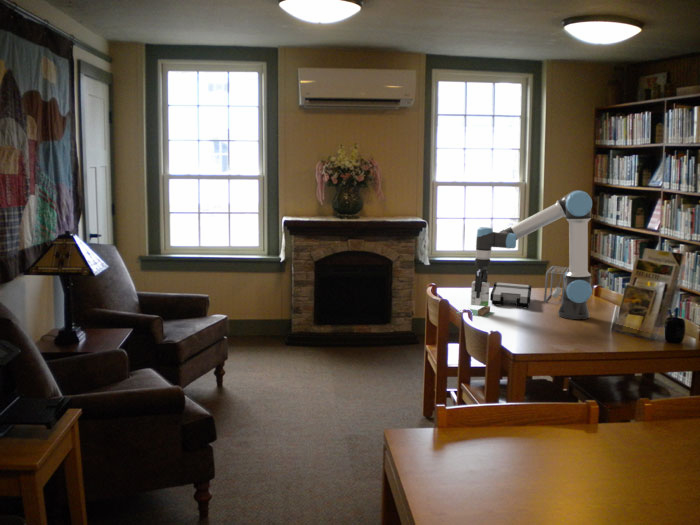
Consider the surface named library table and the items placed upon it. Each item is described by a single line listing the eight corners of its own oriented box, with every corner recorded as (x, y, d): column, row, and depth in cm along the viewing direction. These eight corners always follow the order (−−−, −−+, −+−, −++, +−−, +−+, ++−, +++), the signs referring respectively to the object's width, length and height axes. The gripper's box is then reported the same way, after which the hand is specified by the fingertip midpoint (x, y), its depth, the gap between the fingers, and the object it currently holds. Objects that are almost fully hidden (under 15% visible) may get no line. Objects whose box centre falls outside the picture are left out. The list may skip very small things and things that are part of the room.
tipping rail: (489, 312, 365) (490, 306, 364) (482, 316, 354) (483, 310, 354) (485, 311, 366) (485, 305, 365) (477, 315, 355) (478, 309, 355)
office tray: (489, 306, 382) (490, 291, 381) (493, 296, 413) (494, 282, 412) (529, 310, 377) (530, 295, 376) (530, 299, 408) (531, 285, 407)
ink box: (488, 305, 362) (490, 282, 360) (487, 306, 357) (489, 283, 355) (471, 303, 364) (473, 280, 363) (470, 304, 360) (471, 282, 358)
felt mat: (494, 313, 365) (494, 312, 365) (486, 318, 352) (486, 317, 352) (464, 309, 372) (464, 308, 372) (455, 313, 360) (455, 312, 360)
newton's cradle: (562, 305, 394) (565, 273, 391) (543, 302, 398) (546, 271, 395) (568, 296, 422) (570, 266, 419) (549, 294, 425) (552, 265, 423)
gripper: (481, 255, 367) (478, 299, 370) (469, 259, 351) (466, 305, 354) (495, 257, 363) (492, 301, 367) (484, 260, 347) (481, 307, 351)
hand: (479, 303), depth 360 cm, fingers closed on ink box, 5 cm apart
